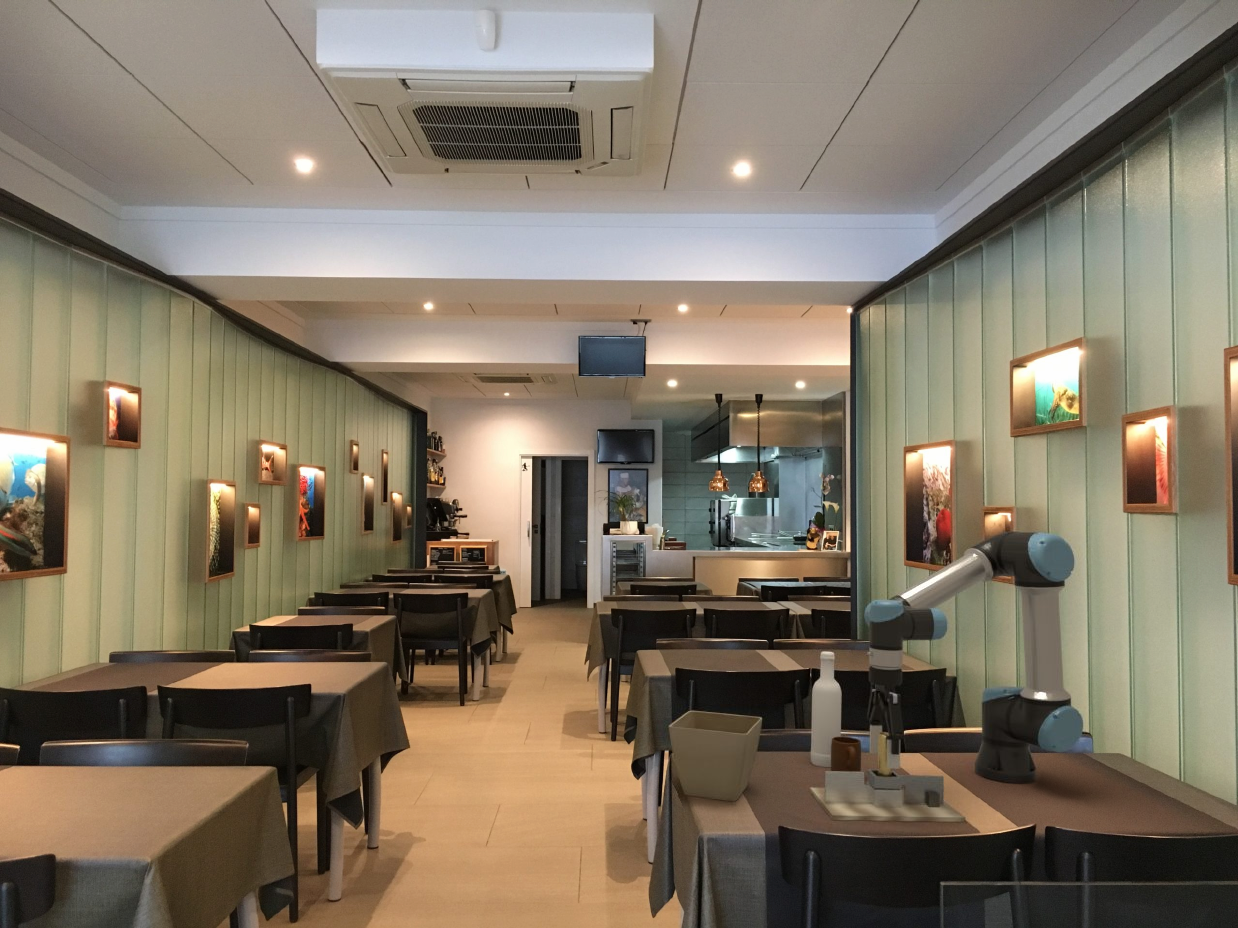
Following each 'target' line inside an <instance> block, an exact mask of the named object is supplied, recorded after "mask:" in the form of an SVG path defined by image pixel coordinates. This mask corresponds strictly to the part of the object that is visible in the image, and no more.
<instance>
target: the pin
mask: <svg viewBox="0 0 1238 928" xmlns="http://www.w3.org/2000/svg"><path fill="white" fill-rule="evenodd" d="M887 736H889V734H888V732H886V731H885V732H884V731H882V732H881V733H879V739H878V753H877V770H878V776H884V777H892V770H893V769H892V768H887V739H886V737H887ZM877 789H886V788H877Z"/></svg>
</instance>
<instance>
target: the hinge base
mask: <svg viewBox="0 0 1238 928" xmlns="http://www.w3.org/2000/svg"><path fill="white" fill-rule="evenodd" d="M824 788H825V803H869V804H872V805H873V806H874V807H882V808H902V790H901V789H902V788H901V789H877V788H874V787H873V786H872V785H871V784H870V783H869V782H868V781H867V780H866V784H865V772H864V771H861V772H846V771H831V770H830V771H829V770H826V771H824ZM939 798H940V794H939V793H937V792H927V806H928V807H939Z"/></svg>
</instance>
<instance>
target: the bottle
mask: <svg viewBox="0 0 1238 928" xmlns="http://www.w3.org/2000/svg"><path fill="white" fill-rule="evenodd" d="M819 658H820V670H819V672H820V673H819V674H820V676H819V678H818V679H817V680H816V681H815V682H814V684H813V686H812V690H811V735H810V738H811V742H810V743H811V745H810V747H811V748H810V763H812V764H813V765H814V766H817V767H821V768H831V743H832V738H834V737H842V736H841V735H842V733H841V732H842V689H841V686H840V684H839V682H838V681H837V680H836V679H835V660H836V657H835V653H834V652H832V651H821V652H820V657H819Z"/></svg>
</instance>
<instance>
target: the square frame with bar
mask: <svg viewBox="0 0 1238 928" xmlns="http://www.w3.org/2000/svg"><path fill="white" fill-rule="evenodd" d="M944 778H945V777H944V775H927V774H926V775H920V774H919V775H917V774H915V775H914V774H898V773H897V772H896V771H895V770H894V769H892V777H884V776H878V769H870V768H868V769H866V782H867V781H868V782H869V783H870V784H871V785H872V786H873V787H874V788H886V789H902V786H903V789H904V803H924V804H927V792H937V793H939V794H940V798H939V804H944V800H945V799H944V798H945V797H944V795H945V794H944V789H945V788H944V787H945V786H944V784H945V779H944Z"/></svg>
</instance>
